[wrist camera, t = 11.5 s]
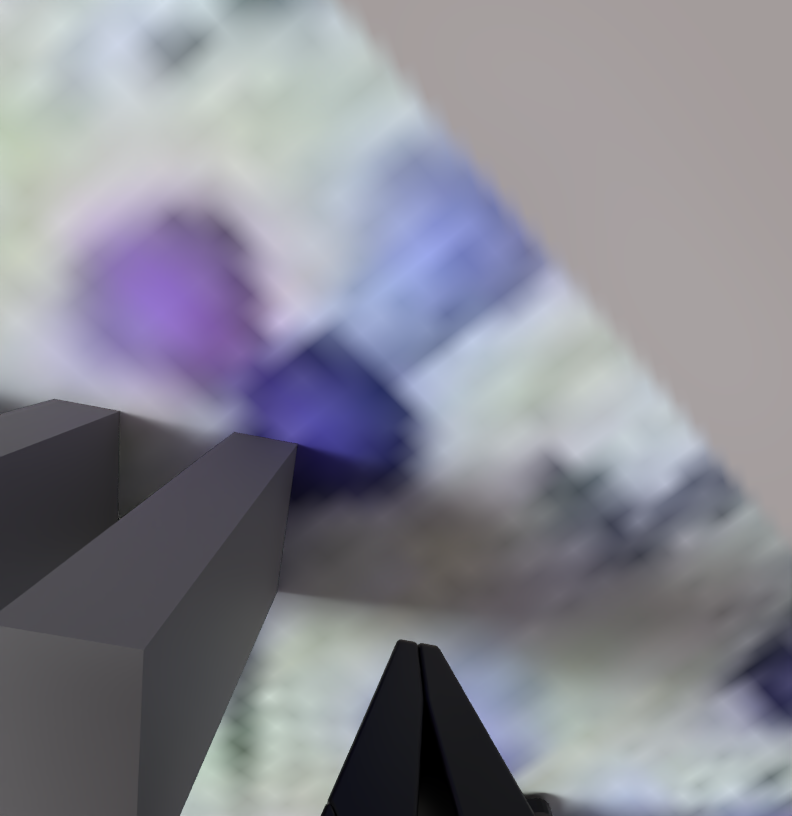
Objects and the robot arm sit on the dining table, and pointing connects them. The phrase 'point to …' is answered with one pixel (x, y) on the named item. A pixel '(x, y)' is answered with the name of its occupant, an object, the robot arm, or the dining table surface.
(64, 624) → the domino
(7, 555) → the domino
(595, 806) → the dining table surface
